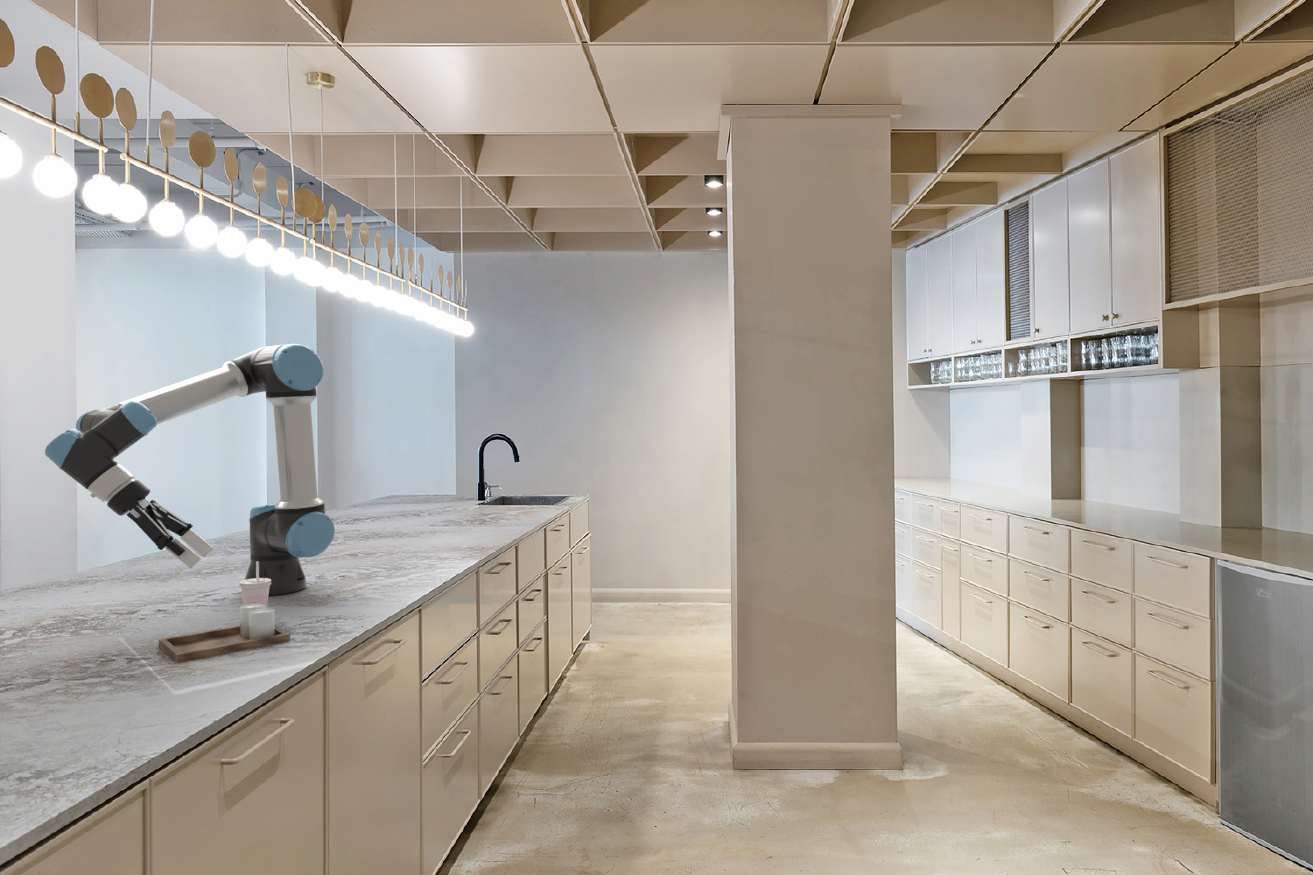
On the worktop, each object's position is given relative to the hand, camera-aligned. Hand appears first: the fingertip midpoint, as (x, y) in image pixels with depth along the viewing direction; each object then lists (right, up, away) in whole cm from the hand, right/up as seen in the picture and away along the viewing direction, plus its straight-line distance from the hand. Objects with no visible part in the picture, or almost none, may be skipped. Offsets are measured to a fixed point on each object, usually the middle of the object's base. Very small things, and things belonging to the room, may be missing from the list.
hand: (203, 558), depth 166 cm
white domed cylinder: (+18, -15, -11) cm, 26 cm away
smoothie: (+9, -16, +4) cm, 19 cm away
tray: (+12, -16, -13) cm, 24 cm away
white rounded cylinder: (+14, -15, -6) cm, 22 cm away
